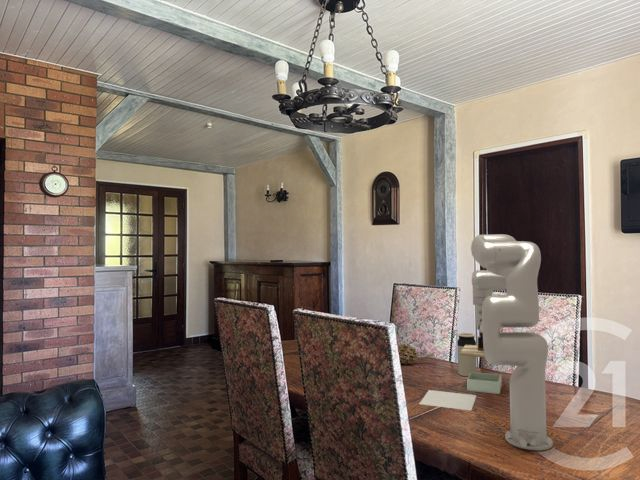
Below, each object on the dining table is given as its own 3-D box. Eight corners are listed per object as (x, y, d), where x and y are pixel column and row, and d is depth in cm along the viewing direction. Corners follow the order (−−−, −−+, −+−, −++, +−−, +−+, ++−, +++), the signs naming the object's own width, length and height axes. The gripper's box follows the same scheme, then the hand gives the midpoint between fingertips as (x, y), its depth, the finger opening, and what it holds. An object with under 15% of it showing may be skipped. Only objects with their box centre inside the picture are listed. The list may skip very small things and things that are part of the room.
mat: (471, 412, 158) (471, 410, 158) (419, 405, 165) (419, 404, 165) (476, 396, 174) (476, 395, 174) (428, 391, 182) (428, 389, 182)
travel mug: (479, 377, 201) (478, 335, 202) (460, 377, 202) (460, 336, 202) (473, 372, 209) (472, 332, 210) (455, 372, 209) (455, 332, 210)
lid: (504, 359, 173) (503, 342, 174) (460, 355, 180) (459, 339, 180) (505, 350, 188) (505, 335, 188) (465, 347, 195) (465, 332, 195)
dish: (499, 395, 176) (499, 382, 176) (467, 391, 181) (466, 379, 181) (501, 386, 187) (501, 374, 187) (470, 383, 191) (470, 371, 192)
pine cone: (391, 366, 221) (391, 346, 221) (388, 362, 231) (388, 342, 231) (437, 366, 221) (437, 345, 221) (432, 361, 230) (432, 341, 231)
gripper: (491, 303, 175) (492, 351, 175) (494, 299, 190) (495, 343, 190) (470, 303, 178) (471, 350, 178) (475, 298, 194) (475, 342, 193)
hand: (483, 346), depth 184 cm, fingers closed on lid, 4 cm apart
